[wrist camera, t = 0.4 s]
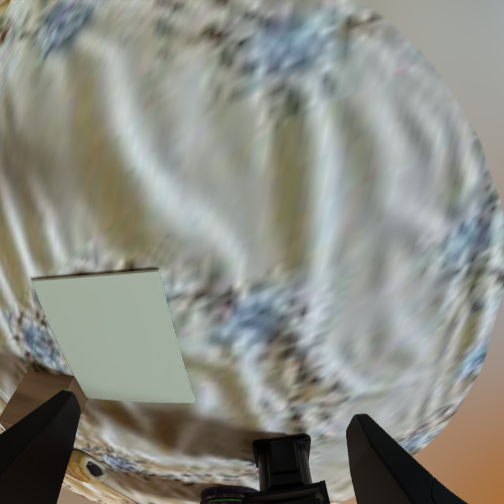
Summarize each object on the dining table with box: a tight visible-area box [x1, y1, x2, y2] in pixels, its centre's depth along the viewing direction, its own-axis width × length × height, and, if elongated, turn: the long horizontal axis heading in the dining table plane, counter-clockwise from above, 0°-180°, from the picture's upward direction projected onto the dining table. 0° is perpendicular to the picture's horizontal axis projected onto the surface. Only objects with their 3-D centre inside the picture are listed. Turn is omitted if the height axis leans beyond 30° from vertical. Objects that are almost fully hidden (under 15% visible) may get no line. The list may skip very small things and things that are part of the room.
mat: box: [32, 269, 195, 403], centre depth 24 cm, size 14×12×1 cm
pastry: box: [66, 450, 109, 484], centre depth 32 cm, size 9×7×4 cm
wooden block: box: [0, 371, 87, 430], centre depth 23 cm, size 4×7×8 cm, turn 95°
